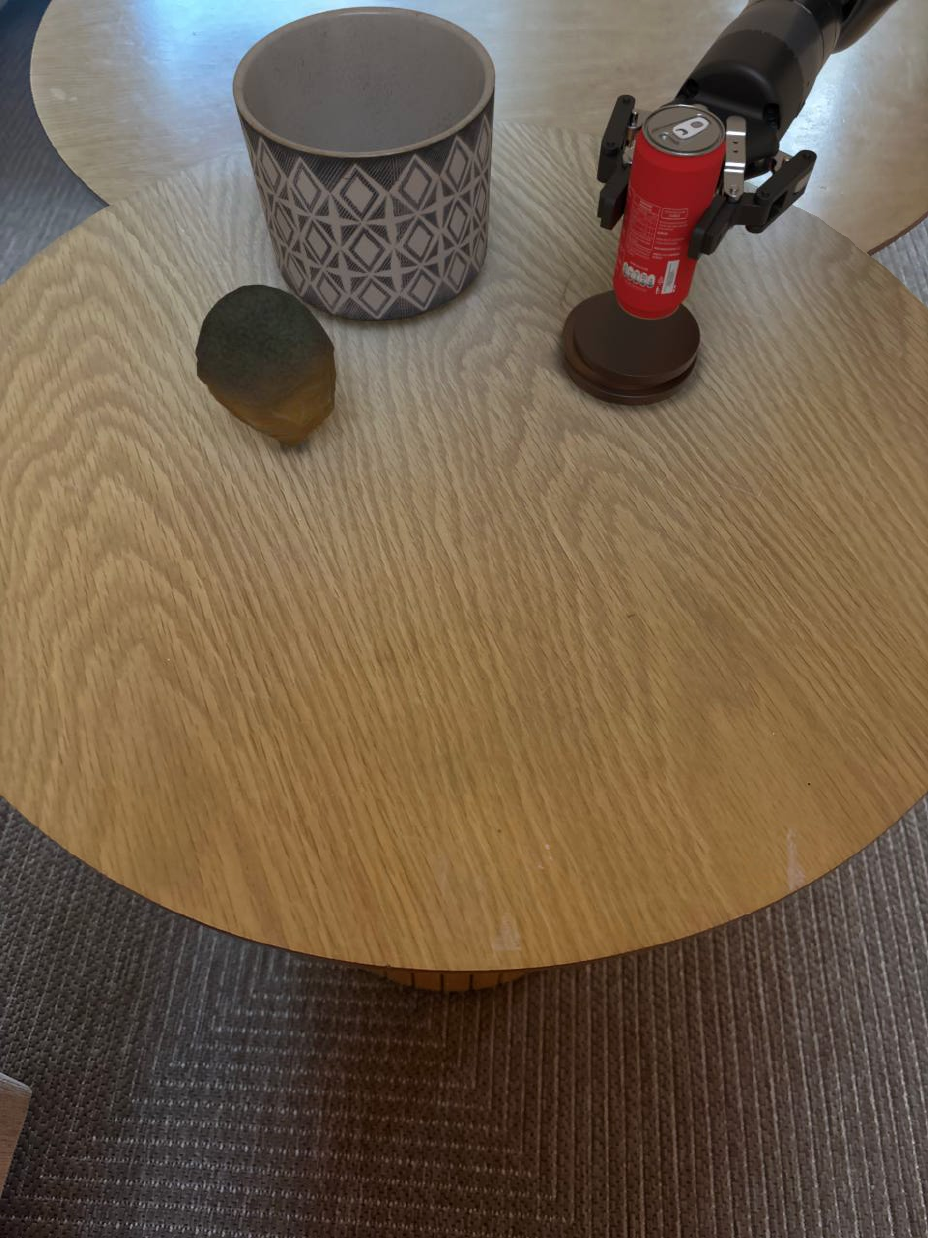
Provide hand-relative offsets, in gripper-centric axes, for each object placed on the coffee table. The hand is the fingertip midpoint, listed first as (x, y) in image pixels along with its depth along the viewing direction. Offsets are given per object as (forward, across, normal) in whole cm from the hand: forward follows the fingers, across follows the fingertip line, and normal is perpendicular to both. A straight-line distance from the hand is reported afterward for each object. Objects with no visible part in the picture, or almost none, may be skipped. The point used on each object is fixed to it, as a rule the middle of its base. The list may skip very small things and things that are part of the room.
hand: (650, 230), depth 54 cm
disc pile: (-8, -2, +18) cm, 20 cm away
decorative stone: (+14, -21, +18) cm, 31 cm away
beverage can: (-3, 0, +7) cm, 8 cm away
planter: (-8, -26, +18) cm, 33 cm away
